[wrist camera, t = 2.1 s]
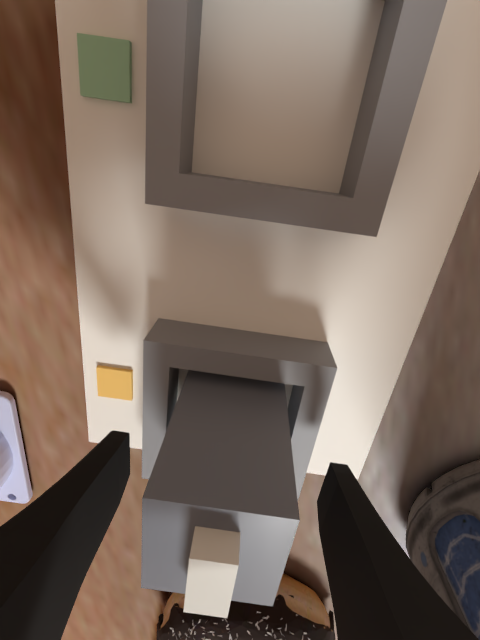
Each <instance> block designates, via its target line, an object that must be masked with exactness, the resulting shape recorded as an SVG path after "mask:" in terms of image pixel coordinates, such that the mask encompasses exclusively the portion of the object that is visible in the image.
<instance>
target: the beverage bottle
mask: <svg viewBox="0 0 480 640" xmlns="http://www.w3.org/2000/svg"><path fill="white" fill-rule="evenodd" d="M406 548H407V551H408V554H409V557H410V560H411V561H412V563H413V564H414V565H415V566H416V568H417V569H418V570H419V572H420V573H421V574H422V575H423V577H424V578H425V579H426V580H427V582H428V583H429V584H430V585H431V586H432V588H433V589H434V590H435V591H436V592H437V594H438V595H439V596H440V597H441V598H442V599H443V601H444V602H445V603H446V604H447V605H448V606H449V608H450V609H451V610H452V611H453V612H454V613H455V614H456V615H457V616H458V617H459V618H460V619H461V621H462V622H463V623H464V624H465V625H466V626H467V627H468V628H469V629H470V630H471V631H472V633H473V634H474V635H475V636H476V637H477V638H478V639H479V640H480V460H476V461H473V462H470V463H468V464H465V465H462V466H459V467H457V468H455V469H453V470H451V471H449V472H447V473H445V474H444V475H442V476H440V477H439V478H438V479H436V480H435V481H433V482H432V490H431V489H429V488H427V487H426V488H425V489H424V490H423V491H422V492H421V493H420V495H419V496H418V497H417V499H416V500H415V502H414V504H413V505H412V507H411V510H410V513H409V516H408V523H407V530H406Z"/></svg>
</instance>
